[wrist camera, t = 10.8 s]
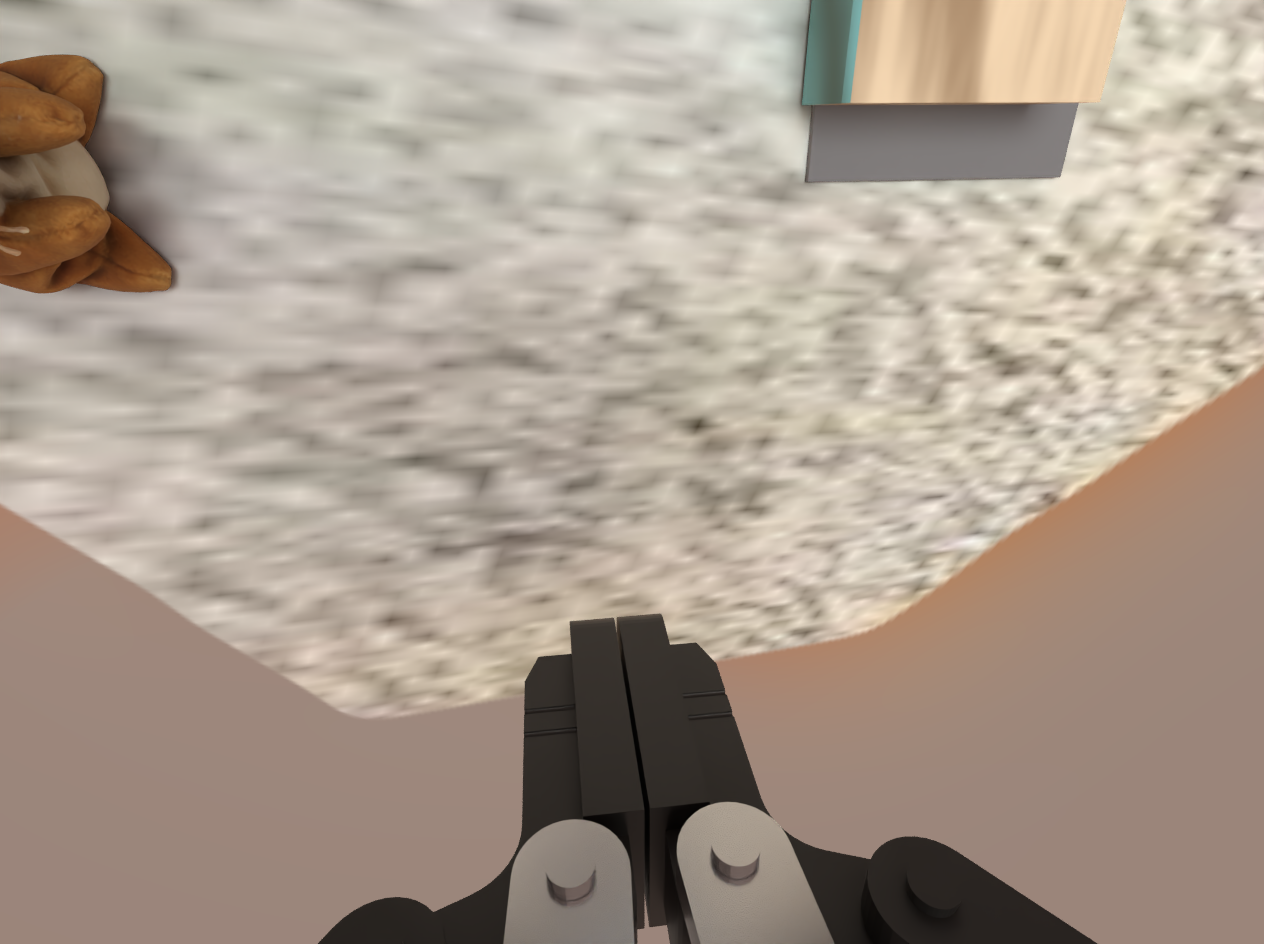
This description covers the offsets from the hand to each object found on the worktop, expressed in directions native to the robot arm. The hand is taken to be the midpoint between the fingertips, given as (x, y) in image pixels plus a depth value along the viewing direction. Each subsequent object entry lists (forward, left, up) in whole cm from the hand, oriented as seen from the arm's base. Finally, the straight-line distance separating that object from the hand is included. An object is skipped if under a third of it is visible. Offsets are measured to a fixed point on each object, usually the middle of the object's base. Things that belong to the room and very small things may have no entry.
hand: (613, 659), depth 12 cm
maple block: (+12, +11, -26) cm, 31 cm away
